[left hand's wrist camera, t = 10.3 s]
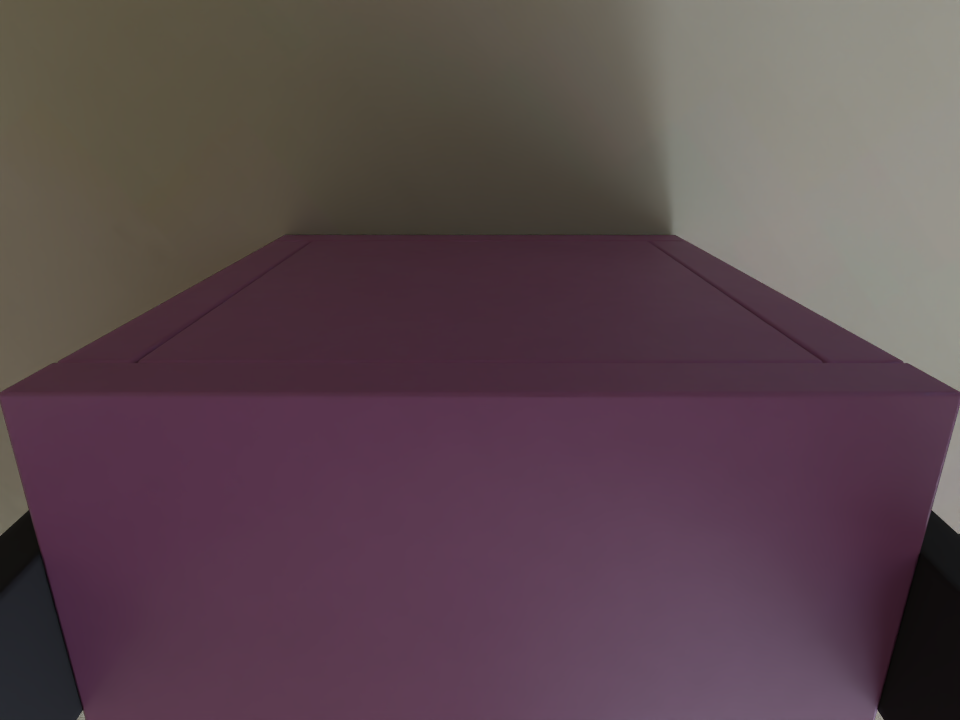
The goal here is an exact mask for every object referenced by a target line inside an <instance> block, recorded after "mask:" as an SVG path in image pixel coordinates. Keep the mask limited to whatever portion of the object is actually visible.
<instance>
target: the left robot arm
mask: <svg viewBox="0 0 960 720" xmlns="http://www.w3.org/2000/svg"><path fill="white" fill-rule="evenodd" d="M82 710H83V708H82V704H81V700H80V697H79V693H78V689H77V686H76V682H75V678H74V674H73V671H72V667H71V663H70V660H69V656H68V652H67V648H66V645H65V641H64V637H63V634H62V630H61V626H60V623H59V619H58V615H57V611H56V608H55V604H54V600H53V597H52V593H51V589H50V585H49V582H48V578H47V574H46V571H45V567H44V563H43V560H42V556H41V552H40V548H39V545H38V541H37V537H36V534H35V530H34V526H33V522H32V519H31V515H30V511H29V510H28V511H27V512H26V513H25V514H24V515H23V516H22V517H21V518H20V519H19V520H17V521H16V522H15V523H14V524H13V525H12V526H11V527H10V528H9V529H8V530H6V531H5V532H4V533H3V534H2V535H1V536H0V720H77V718H78V717H79V715H80V713H81V712H82ZM877 710H878V711H879V713H880V714H881V716H882V717H883V719H884V720H960V534H957V533H956V532H955V531H954V530H953V529H952V528H951V527H950V526H949V525H947V524H946V523H945V522H944V521H943V520H942V519H941V518H940V517H939V516H938V515H936V514H935V513H934V512H933V511H932V510H931V513H930V517H929V521H928V524H927V528H926V532H925V536H924V539H923V543H922V547H921V550H920V554H919V558H918V561H917V565H916V569H915V572H914V576H913V580H912V584H911V587H910V591H909V595H908V598H907V602H906V606H905V609H904V613H903V617H902V621H901V624H900V628H899V632H898V635H897V639H896V643H895V646H894V650H893V654H892V657H891V661H890V665H889V669H888V672H887V676H886V680H885V683H884V687H883V691H882V694H881V698H880V702H879V705H878V709H877Z"/></svg>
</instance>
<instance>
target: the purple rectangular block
mask: <svg viewBox="0 0 960 720" xmlns="http://www.w3.org/2000/svg"><path fill="white" fill-rule="evenodd" d="M0 404H1V408H2V411H3V415H4V419H5V422H6V426H7V430H8V433H9V437H10V441H11V445H12V448H13V452H14V456H15V459H16V463H17V467H18V471H19V474H20V478H21V482H22V485H23V489H24V493H25V497H26V500H27V504H28V508H29V511H30V515H31V519H32V522H33V526H34V530H35V534H36V537H37V541H38V545H39V548H40V552H41V556H42V560H43V563H44V567H45V571H46V574H47V578H48V582H49V585H50V589H51V593H52V597H53V600H54V604H55V608H56V611H57V615H58V619H59V623H60V626H61V630H62V634H63V637H64V641H65V645H66V648H67V652H68V656H69V660H70V663H71V667H72V671H73V674H74V678H75V682H76V686H77V689H78V693H79V697H80V700H81V704H82V708H83V711H84V715H85V719H86V720H875V717H876V713H877V709H878V705H879V702H880V698H881V694H882V691H883V687H884V683H885V680H886V676H887V672H888V669H889V665H890V661H891V657H892V654H893V650H894V646H895V643H896V639H897V635H898V632H899V628H900V624H901V621H902V617H903V613H904V609H905V606H906V602H907V598H908V595H909V591H910V587H911V584H912V580H913V576H914V572H915V569H916V565H917V561H918V558H919V554H920V550H921V547H922V543H923V539H924V536H925V532H926V528H927V524H928V521H929V517H930V513H931V510H932V506H933V502H934V499H935V495H936V491H937V488H938V484H939V480H940V476H941V473H942V469H943V465H944V462H945V458H946V454H947V451H948V447H949V443H950V440H951V436H952V432H953V428H954V425H955V421H956V417H957V414H958V410H959V406H960V392H959V391H957V390H955V389H954V388H952V387H950V386H948V385H946V384H944V383H943V382H941V381H939V380H937V379H935V378H934V377H932V376H930V375H928V374H926V373H925V372H923V371H921V370H919V369H917V368H916V367H914V366H912V365H910V364H908V363H903V361H901V360H900V359H898V358H896V357H894V356H892V355H891V354H889V353H887V352H885V351H883V350H882V349H880V348H878V347H876V346H874V345H873V344H871V343H869V342H867V341H865V340H864V339H862V338H860V337H858V336H856V335H855V334H853V333H851V332H849V331H847V330H846V329H844V328H842V327H840V326H838V325H837V324H835V323H833V322H831V321H829V320H828V319H826V318H824V317H822V316H820V315H819V314H817V313H815V312H813V311H811V310H810V309H808V308H806V307H804V306H802V305H801V304H799V303H797V302H795V301H793V300H792V299H790V298H788V297H786V296H784V295H783V294H781V293H779V292H777V291H775V290H774V289H772V288H770V287H768V286H766V285H765V284H763V283H761V282H759V281H757V280H756V279H754V278H752V277H750V276H748V275H747V274H745V273H743V272H741V271H739V270H738V269H736V268H734V267H732V266H730V265H729V264H727V263H725V262H723V261H721V260H720V259H718V258H716V257H714V256H712V255H711V254H709V253H707V252H705V251H703V250H702V249H700V248H698V247H696V246H694V245H693V244H691V243H689V242H687V241H685V240H683V239H681V238H680V237H678V236H676V235H284V236H282V237H280V238H278V239H277V240H275V241H273V242H271V243H269V244H268V245H266V246H264V247H262V248H260V249H259V250H257V251H255V252H253V253H252V254H250V255H248V256H246V257H244V258H243V259H241V260H239V261H237V262H235V263H234V264H232V265H230V266H228V267H226V268H225V269H223V270H221V271H219V272H217V273H216V274H214V275H212V276H210V277H208V278H207V279H205V280H203V281H201V282H199V283H198V284H196V285H194V286H192V287H190V288H189V289H187V290H185V291H183V292H182V293H180V294H178V295H176V296H174V297H173V298H171V299H169V300H167V301H165V302H164V303H162V304H160V305H158V306H156V307H155V308H153V309H151V310H149V311H147V312H146V313H144V314H142V315H140V316H138V317H137V318H135V319H133V320H131V321H129V322H128V323H126V324H124V325H122V326H121V327H119V328H117V329H115V330H113V331H112V332H110V333H108V334H106V335H104V336H103V337H101V338H99V339H97V340H95V341H94V342H92V343H90V344H88V345H86V346H85V347H83V348H81V349H79V350H77V351H76V352H74V353H72V354H70V355H68V356H67V357H65V358H63V359H61V360H59V361H58V363H52V364H50V365H48V366H47V367H45V368H43V369H41V370H39V371H38V372H36V373H34V374H32V375H30V376H29V377H27V378H25V379H23V380H21V381H20V382H18V383H16V384H14V385H12V386H10V387H9V388H7V389H5V390H3V391H1V392H0Z"/></svg>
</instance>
